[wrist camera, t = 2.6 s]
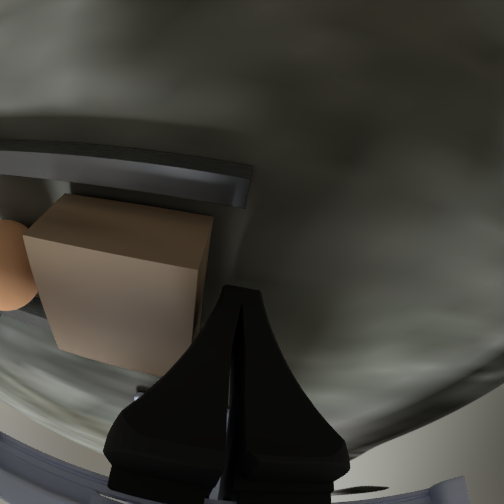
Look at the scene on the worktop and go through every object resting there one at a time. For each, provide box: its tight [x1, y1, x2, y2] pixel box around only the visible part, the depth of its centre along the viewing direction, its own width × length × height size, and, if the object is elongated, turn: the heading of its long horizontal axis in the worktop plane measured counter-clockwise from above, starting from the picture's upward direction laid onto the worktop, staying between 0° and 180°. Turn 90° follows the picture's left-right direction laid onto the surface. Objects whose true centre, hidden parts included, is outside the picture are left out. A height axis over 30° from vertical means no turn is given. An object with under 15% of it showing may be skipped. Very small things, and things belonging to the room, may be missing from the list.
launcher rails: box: [0, 140, 253, 331], centre depth 12 cm, size 10×13×1 cm
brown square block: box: [23, 193, 213, 377], centre depth 12 cm, size 6×6×3 cm
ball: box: [0, 219, 38, 311], centre depth 11 cm, size 4×4×4 cm
